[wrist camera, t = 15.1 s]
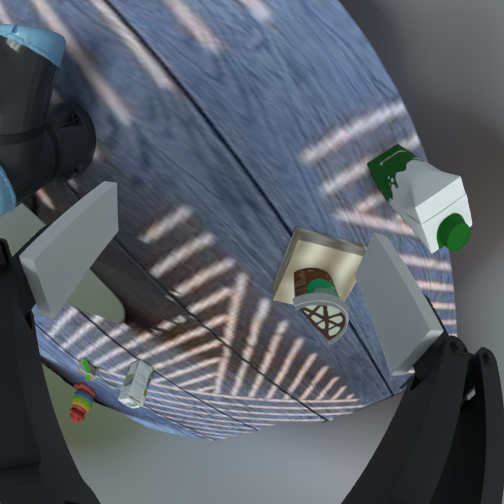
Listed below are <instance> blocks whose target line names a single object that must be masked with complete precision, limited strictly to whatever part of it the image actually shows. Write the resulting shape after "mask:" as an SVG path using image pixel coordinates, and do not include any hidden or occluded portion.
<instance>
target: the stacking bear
mask: <svg viewBox="0 0 504 504" xmlns="http://www.w3.org/2000/svg"><path fill="white" fill-rule="evenodd" d="M74 387H75V388H76V389H77V391H76V392H75V394H74V396H73V401H72V407H73V408H72V409H70V410H69V413H70V416H71V419H72V420H74V422H78V423H80V422H83V420H84V414H86V413H88V412H89V410H90V409H91V407H92V404H93V397H94V396H95V395H96V393H95V391H94V390H93V389H92V388H90V387H89V386H88V385H86V384H85V383H82V382H80V384H74Z"/></svg>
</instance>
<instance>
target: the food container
mask: <svg viewBox="0 0 504 504" xmlns="http://www.w3.org/2000/svg"><path fill="white" fill-rule="evenodd" d="M294 296H295V298H293V304H294V307H295V310H298V309H299V310H300V311H301V312H302V313H303V314H304V315H305V316H306V317H307V318H308V320H309V321H310V322H311V323H312V324H313V326H314V327H315V328H316V329H318V330H319V331H320V332H321V333H322V334H323V335H324V336H325V337H326V338H327V339H328V343H329V345H330V344H332V343H334V342H335V341H337V340H338V339H339V338H340V337H341V336H342V335H343V334H344V332H345V331H346V328H347V325H348V308H347V306H346V304H345V303H344V302H343V301H342V300H341V299H340V298H339V295H338V293H337V290H336V288H335V285H334V283H333V280H332V278H331V276H330V275H329V274H328V273H327V272H326V271H324V270H322V269H318V268H304V269H301V270H298V271H296V272H294Z"/></svg>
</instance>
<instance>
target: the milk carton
mask: <svg viewBox="0 0 504 504" xmlns="http://www.w3.org/2000/svg"><path fill="white" fill-rule="evenodd" d="M367 165H368V167H369V169H370V170H371V172H372V174H373V176H374V178H375V180H376V182H377V184H378V186H379V187H380V189H381V191H382V193H383V195H384V197H385V199H386V201H387V202H388V203H389V204H390V205H391V207H392V208H393V209H394V210H395V211H396V212H397V213H398V214H399V215H400V216H401V218H402V219H403V220H404V221H405V222H406V223H407V224H408V226H409V227H410V228H411V229H412V230H413V231H414V232H415V234H416V235H417V236H418V237H419V238H420V240H421V241H422V242H423V243H424V244H425V246H426V247H427V248H428V250H429V251H430V252H431V253H434V252H435V251H436V250H438V249H441V248H442V247H443V246H446V247H447V248H448V249H449V250H451V251H458V250H460V249H462V248H463V247H464V246H465V245H466V243H467V242H468V240H469V237H470V226H472V220H471V214H470V209H469V205H468V199H467V195H466V193H465V191H464V187H463V184H462V180H461V177H460V176H456V175H453V174H449V173H445V172H441V171H440V170H438V169H437V168H435V167H433V166H432V165H430V164H428V163H427V162H425V161H423V160H421V159H420V158H418V157H416V156H415V155H414V154H412V153H411V152H409V151H408V150H406V149H405V148H403V147H402V146H400V145H399V144H397V145H396V146H394V147H393V148H391V149H390V150H388V151H386V152H385V153H383V154H382V155H380V156H379V157H377V158H375V159H374V160H372V161H371V162H369V163H368V164H367Z"/></svg>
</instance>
